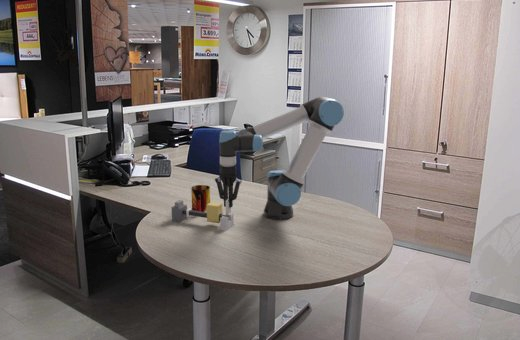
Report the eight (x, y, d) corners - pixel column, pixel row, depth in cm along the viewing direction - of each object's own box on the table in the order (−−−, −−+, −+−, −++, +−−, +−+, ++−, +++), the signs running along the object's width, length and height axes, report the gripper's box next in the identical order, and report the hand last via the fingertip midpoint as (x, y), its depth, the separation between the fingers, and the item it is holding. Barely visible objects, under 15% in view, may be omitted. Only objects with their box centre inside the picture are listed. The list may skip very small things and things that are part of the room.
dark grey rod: (229, 220, 214) (229, 213, 213) (226, 223, 211) (226, 216, 210) (178, 212, 224) (178, 206, 223) (174, 215, 221) (174, 208, 220)
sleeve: (222, 220, 216) (222, 203, 214) (218, 223, 212) (218, 206, 210) (211, 218, 218) (211, 202, 216) (207, 221, 214) (206, 204, 212)
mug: (199, 215, 228) (198, 193, 225) (189, 208, 240) (188, 186, 237) (216, 212, 233) (216, 190, 230) (206, 205, 244) (205, 184, 241)
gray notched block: (233, 224, 216) (233, 213, 215) (226, 230, 209) (225, 218, 207) (228, 223, 217) (228, 212, 216) (220, 229, 210) (220, 218, 208)
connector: (187, 218, 224) (186, 200, 222) (180, 222, 219) (180, 203, 217) (178, 216, 226) (177, 199, 224) (172, 220, 221) (171, 202, 218)
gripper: (244, 164, 206) (244, 212, 212) (218, 161, 211) (219, 209, 217) (237, 167, 200) (237, 218, 205) (211, 165, 204) (212, 214, 210)
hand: (228, 213), depth 211 cm, fingers closed
